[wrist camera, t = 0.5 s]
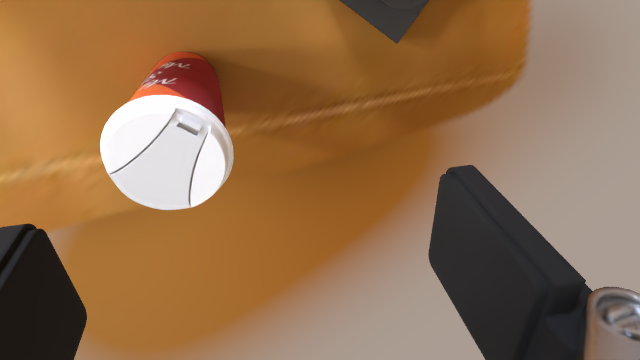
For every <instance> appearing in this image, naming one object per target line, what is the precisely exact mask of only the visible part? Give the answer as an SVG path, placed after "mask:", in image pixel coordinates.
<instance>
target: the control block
mask: <svg viewBox="0 0 640 360" xmlns="http://www.w3.org/2000/svg"><path fill="white" fill-rule="evenodd" d="M340 1H341V2H343V3H344V4H345V5H347V6H348V7H349V8H351V9H352V10H353V11H355V12H356V13H357V14H359V15H360V16H361V17H362V18H364V19H365V20H366V21H368V22H369V23H370V24H372V25H373V26H374V27H376V28H377V29H378V30H380V31H381V32H382V33H384V34H385V35H386V36H387V37H389V38H390V39H391V40H393V41H394V42H395V43H398V42H399V41H400V39H401V38H402V37H403V35H404V34H405V32H406V31H407V30H408V28H409V27H410V26H411V24H412V23H413V22H414V20H415V19H416V17H417V16H418V15H419V13H420V12H421V11H422V9H423V8H424V7H425V5H426V4H427V3H428V1H429V0H340Z"/></svg>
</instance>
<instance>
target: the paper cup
mask: <svg viewBox="0 0 640 360" xmlns="http://www.w3.org/2000/svg"><path fill="white" fill-rule="evenodd" d="M100 147H101V156H102V160H103V163H104V165H105V167H106V171H107V173H108V175H109V176H110V177H111V179H112V180H113V182H114V183H115V184H116V186H117V187H118V188H119V189H120V190H121V191H122V192H123V193H124V194H125V195H126V196H127V197H129V198H130V199H132V200H133V201H135V202H137V203H139V204H142V205H144V206H148V207H151V208H156V209H161V210H177V209H184V208H190V206H191V207H194V206H196V205H199V204H201V203H202V202H204V201H206V200H207V199H209V198H210V197H211V196H212V195H213V194H214V193H215V192H216V191H217V190H218V189H219V188H220V187H221V186H222V185H223V183H224V182H225V181H226V179H227V178H228V176H229V174H230V171H231V168H232V165H233V158H234V156H233V146H232V141H231V138H230V136H229V134H228V131H227V130H226V127H225V119H224V111H223V103H222V96H221V89H220V84H219V80H218V76H217V74H216V72H215V70H214V69H213V67H212V66H211V65H210V64H209V63H208V62H207V61H206V60H205V59H203V58H202V57H200V56H198V55H196V54H193V53H189V52H176V53H172V54H170V55H167V56H166V57H164V58H163V59H161V60H160V61H159V62H158V63H157V64H156V66H155V67H154V68H153V69H152V70H151V72H150V73H149V74H148V76H147V77H146V79H145V80H144V81H143V83H142V84H141V85H140V87H139V88H138V90H137V91H136V92H135V94H134V95H133V97H132V98H131V99H130V101H129V102H128V103H127V104H125V105H123V106H122V107H121V108H119V109H118V110H117V111H116V112H115V113H114V114H113V115H112V116H111V117H110V118H109V120H108V122H107V123H106V125H105V127H104V130H103V132H102V136H101V142H100Z"/></svg>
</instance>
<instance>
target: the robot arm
mask: <svg viewBox="0 0 640 360" xmlns="http://www.w3.org/2000/svg"><path fill="white" fill-rule="evenodd" d="M429 260H430V264H431V266H432V268H433V270H434V272H435V273H436V275H437V277H438V278H439V280H440V282H441V284H442V285H443V287H444V289H445V290H446V292H447V294H448V296H449V297H450V299H451V301H452V303H453V304H454V306H455V308H456V309H457V311H458V313H459V315H460V316H461V318H462V320H463V322H464V323H465V325H466V326H467V329H468V330H469V332H470V334H471V335H472V337H473V339H474V341H475V342H476V344H477V346H478V348H479V349H480V351H481V353H482V354H483V356H484V358H485V360H640V294H639V293H637V292H634V291H632V290H628V289H624V288H619V287H603V288H599V289H596V290H594V291H592V290H591V289H590V288H589V287H588V286H587V285H586V284H585V281H586V280H585V279H584V278H583V277H582V276H581V275H580V274H579V273H578V272H577V271H576V270H575V269H574V268H573V267H572V266H571V265H570V264H569V263H568V262H567V261H566V260H565V259H564V258H563V257H562V256H561V255H560V254H559V253H558V252H557V251H556V250H555V249H554V247H552V245H551V244H550V243H549V242H548V241H546V239H545V238H544V237H543V236H542V235H541V234H540V233H539V232H538V231H537V230H536V229H535V228H534V227H533V226H532V225H531V224H530V223H529V222H528V221H527V220H526V219H525V218H524V217H523V216H522V215H521V214H520V213H519V212H518V211H517V210H516V209H515V208H514V206H513V205H511V203H510V202H509V201H508V200H507V199H506V198H505V197H504V196H503V195H502V194H501V193H500V192H499V191H498V190H497V189H496V188H495V187H494V186H493V185H492V184H491V183H490V182H489V181H488V180H487V179H486V178H485V177H484V176H483V175H482V174H481V173H480V172H479V171H478V170H477V169H476V168H475V167H474V166H473V165H467V166H459V167H452V168H449V169H448V170H447V172H446V174H443V175H442V176H441V177H440V182H439V189H438V195H437V202H436V208H435V215H434V221H433V228H432V234H431V241H430V248H429ZM86 320H87V315H86V309H85V307H84V305H83V303H82V301H81V299H80V297H79V295H78V293H77V291H76V290H75V288H74V286H73V284H72V282H71V280H70V278H69V276H68V274H67V272H66V270H65V269H64V266H63V265H62V263H61V261H60V259H59V257H58V255H57V253H56V251H55V249H54V247H53V245H52V243H51V242H50V240H49V238H48V236H47V234H46V232H45V231H44V230H43V229H37V228H36V227H35V226H34V225H32V224H22V225H15V226H7V227H1V228H0V360H74V357H75V354H76V351H77V349H78V345H79V343H80V340H81V337H82V334H83V331H84V328H85V325H86Z"/></svg>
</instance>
